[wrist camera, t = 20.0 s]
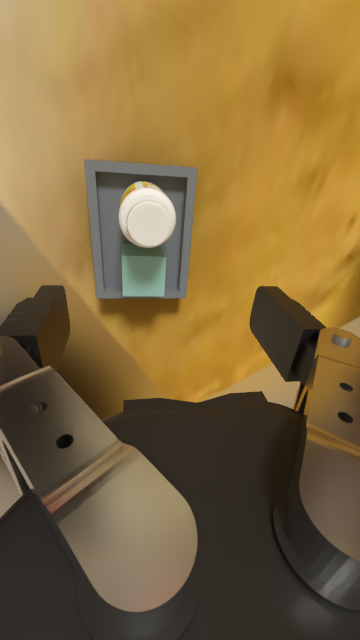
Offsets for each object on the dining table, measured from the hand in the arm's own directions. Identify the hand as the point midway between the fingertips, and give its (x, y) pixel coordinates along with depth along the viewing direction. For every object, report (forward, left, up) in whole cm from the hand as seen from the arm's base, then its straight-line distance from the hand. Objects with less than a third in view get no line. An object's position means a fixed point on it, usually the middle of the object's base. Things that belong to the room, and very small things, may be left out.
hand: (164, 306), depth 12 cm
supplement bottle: (0, 0, -26) cm, 26 cm away
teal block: (0, +7, -26) cm, 27 cm away
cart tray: (0, +4, -28) cm, 28 cm away
